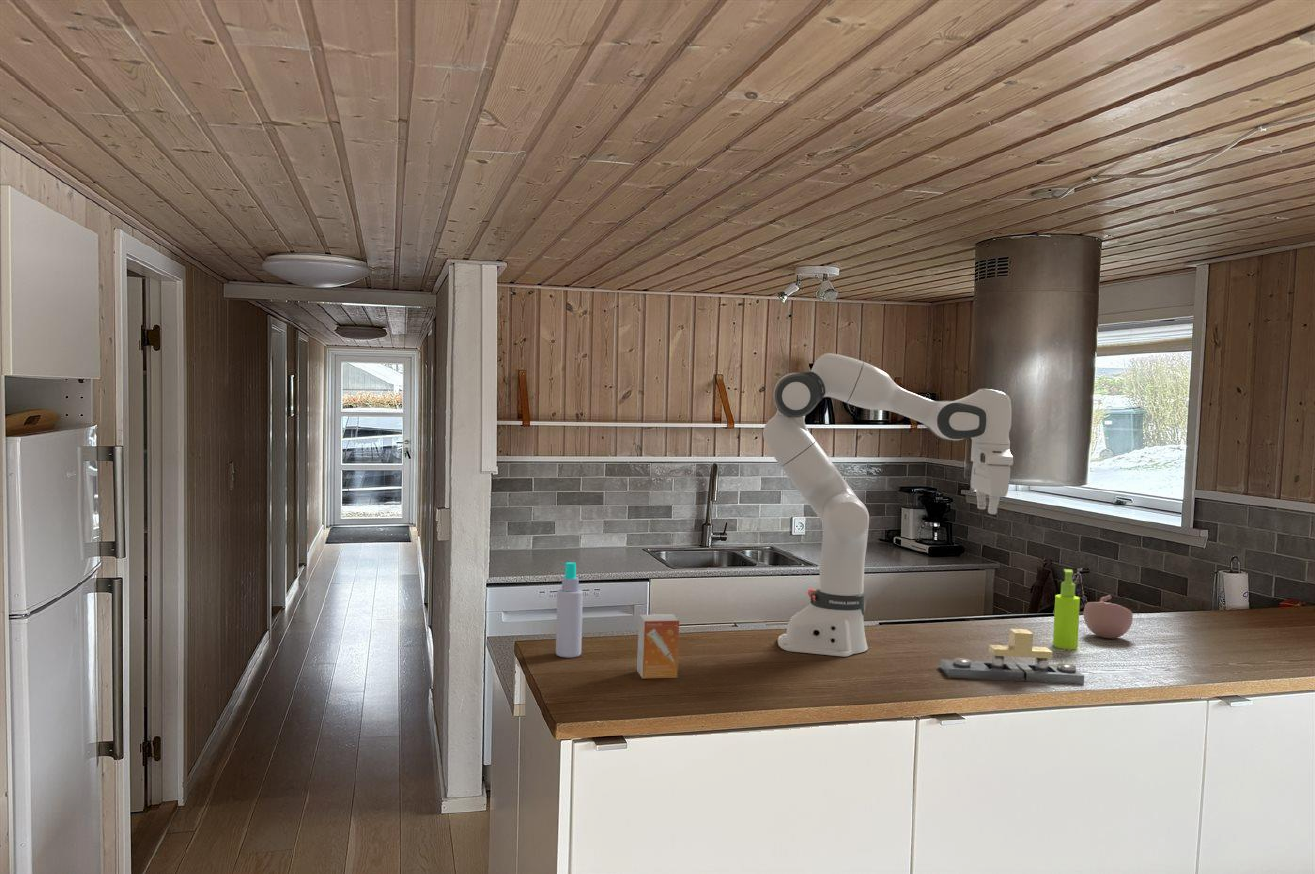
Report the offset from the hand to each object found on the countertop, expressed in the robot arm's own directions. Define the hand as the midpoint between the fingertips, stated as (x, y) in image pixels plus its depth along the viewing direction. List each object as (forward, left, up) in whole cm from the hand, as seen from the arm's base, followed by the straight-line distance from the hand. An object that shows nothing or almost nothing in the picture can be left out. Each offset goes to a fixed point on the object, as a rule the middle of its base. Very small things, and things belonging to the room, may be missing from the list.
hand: (986, 511), depth 227 cm
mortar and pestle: (+41, +26, -36) cm, 60 cm away
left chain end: (-4, -15, -36) cm, 39 cm away
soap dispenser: (+26, +15, -36) cm, 47 cm away
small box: (-78, -28, -36) cm, 91 cm away
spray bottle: (-100, -16, -36) cm, 108 cm away
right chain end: (+11, -15, -36) cm, 41 cm away
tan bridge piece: (+5, -15, -36) cm, 39 cm away
